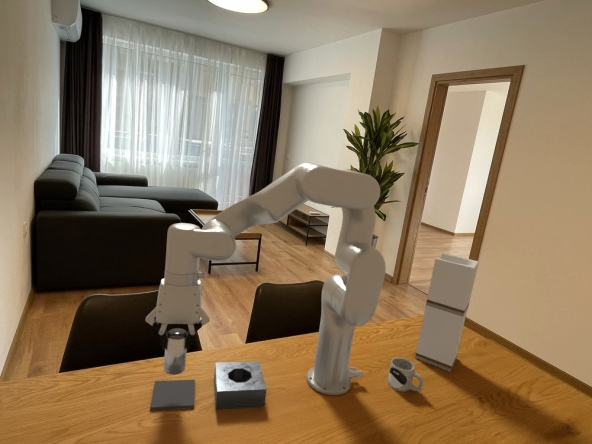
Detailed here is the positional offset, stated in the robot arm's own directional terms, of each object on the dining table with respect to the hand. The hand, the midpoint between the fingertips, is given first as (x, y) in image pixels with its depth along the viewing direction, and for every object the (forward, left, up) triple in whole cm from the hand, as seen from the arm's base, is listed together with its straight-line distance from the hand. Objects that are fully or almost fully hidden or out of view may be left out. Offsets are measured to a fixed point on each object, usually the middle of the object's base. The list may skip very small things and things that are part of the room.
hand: (176, 346), depth 92 cm
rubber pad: (0, 0, -13) cm, 13 cm away
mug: (-64, +1, -14) cm, 66 cm away
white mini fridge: (-84, -13, -14) cm, 86 cm away
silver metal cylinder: (0, 0, -6) cm, 6 cm away
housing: (-16, 0, -13) cm, 21 cm away
